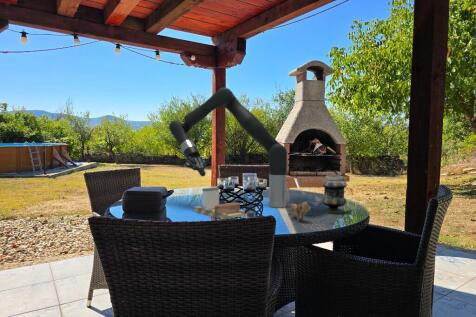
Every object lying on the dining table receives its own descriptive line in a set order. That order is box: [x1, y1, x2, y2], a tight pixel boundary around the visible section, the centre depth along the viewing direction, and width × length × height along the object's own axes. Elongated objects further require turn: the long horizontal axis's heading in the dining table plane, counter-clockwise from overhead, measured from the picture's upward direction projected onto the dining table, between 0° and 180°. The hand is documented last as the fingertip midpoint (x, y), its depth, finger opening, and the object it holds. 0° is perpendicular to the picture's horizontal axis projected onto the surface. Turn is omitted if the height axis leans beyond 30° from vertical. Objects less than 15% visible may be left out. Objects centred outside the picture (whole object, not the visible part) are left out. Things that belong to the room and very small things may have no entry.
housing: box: [193, 201, 246, 220], centre depth 164 cm, size 24×12×6 cm, turn 43°
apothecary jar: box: [320, 174, 348, 215], centre depth 169 cm, size 12×12×18 cm
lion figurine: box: [287, 201, 312, 223], centre depth 153 cm, size 15×5×9 cm, turn 26°
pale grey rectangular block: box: [201, 186, 220, 209], centre depth 168 cm, size 3×8×10 cm, turn 132°
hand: (203, 175), depth 171 cm, fingers closed
